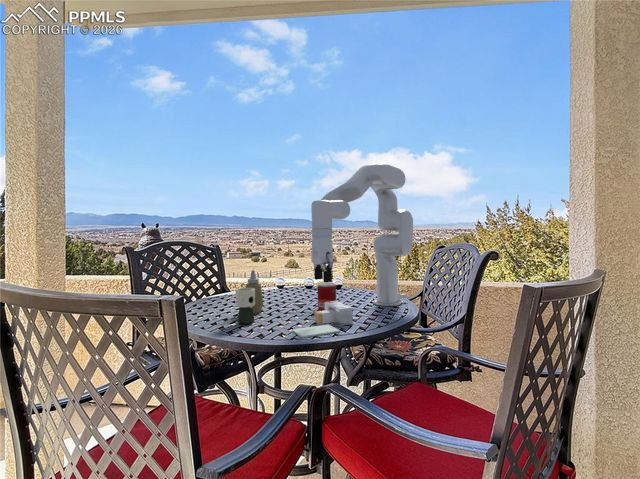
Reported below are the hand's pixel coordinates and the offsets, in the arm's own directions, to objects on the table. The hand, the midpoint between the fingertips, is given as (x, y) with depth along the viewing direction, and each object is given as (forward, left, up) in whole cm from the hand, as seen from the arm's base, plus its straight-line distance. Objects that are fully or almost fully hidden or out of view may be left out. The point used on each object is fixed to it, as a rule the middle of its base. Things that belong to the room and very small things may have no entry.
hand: (323, 280), depth 144 cm
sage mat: (+7, +10, -16) cm, 20 cm away
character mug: (+26, -13, -16) cm, 34 cm away
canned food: (-11, -20, -16) cm, 28 cm away
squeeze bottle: (+19, -29, -16) cm, 38 cm away
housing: (-6, 0, -16) cm, 17 cm away
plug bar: (-3, 0, -16) cm, 16 cm away
